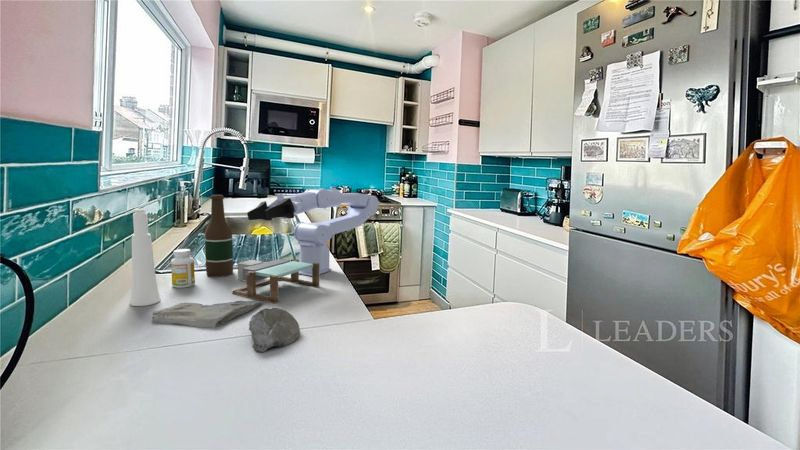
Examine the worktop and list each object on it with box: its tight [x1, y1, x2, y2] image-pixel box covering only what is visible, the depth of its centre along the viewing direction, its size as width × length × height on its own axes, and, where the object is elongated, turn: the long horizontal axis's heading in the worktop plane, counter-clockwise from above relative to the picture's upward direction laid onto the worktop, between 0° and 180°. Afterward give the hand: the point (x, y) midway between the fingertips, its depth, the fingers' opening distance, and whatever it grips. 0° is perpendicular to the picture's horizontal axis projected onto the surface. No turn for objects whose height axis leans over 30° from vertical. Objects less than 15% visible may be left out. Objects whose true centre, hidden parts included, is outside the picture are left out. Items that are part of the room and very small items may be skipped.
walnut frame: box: [231, 258, 320, 304], centre depth 102 cm, size 18×14×6 cm
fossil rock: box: [151, 300, 262, 328], centre depth 84 cm, size 18×15×2 cm
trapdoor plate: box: [243, 258, 313, 282], centre depth 101 cm, size 14×12×3 cm
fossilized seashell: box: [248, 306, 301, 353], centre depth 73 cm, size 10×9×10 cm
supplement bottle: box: [170, 248, 196, 289], centre depth 103 cm, size 5×5×10 cm
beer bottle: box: [204, 194, 234, 278], centre depth 114 cm, size 8×8×24 cm
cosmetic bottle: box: [129, 208, 161, 307], centre depth 88 cm, size 6×6×22 cm
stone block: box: [237, 259, 265, 282], centre depth 111 cm, size 5×5×5 cm
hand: (257, 215), depth 101 cm, fingers open, 7 cm apart
